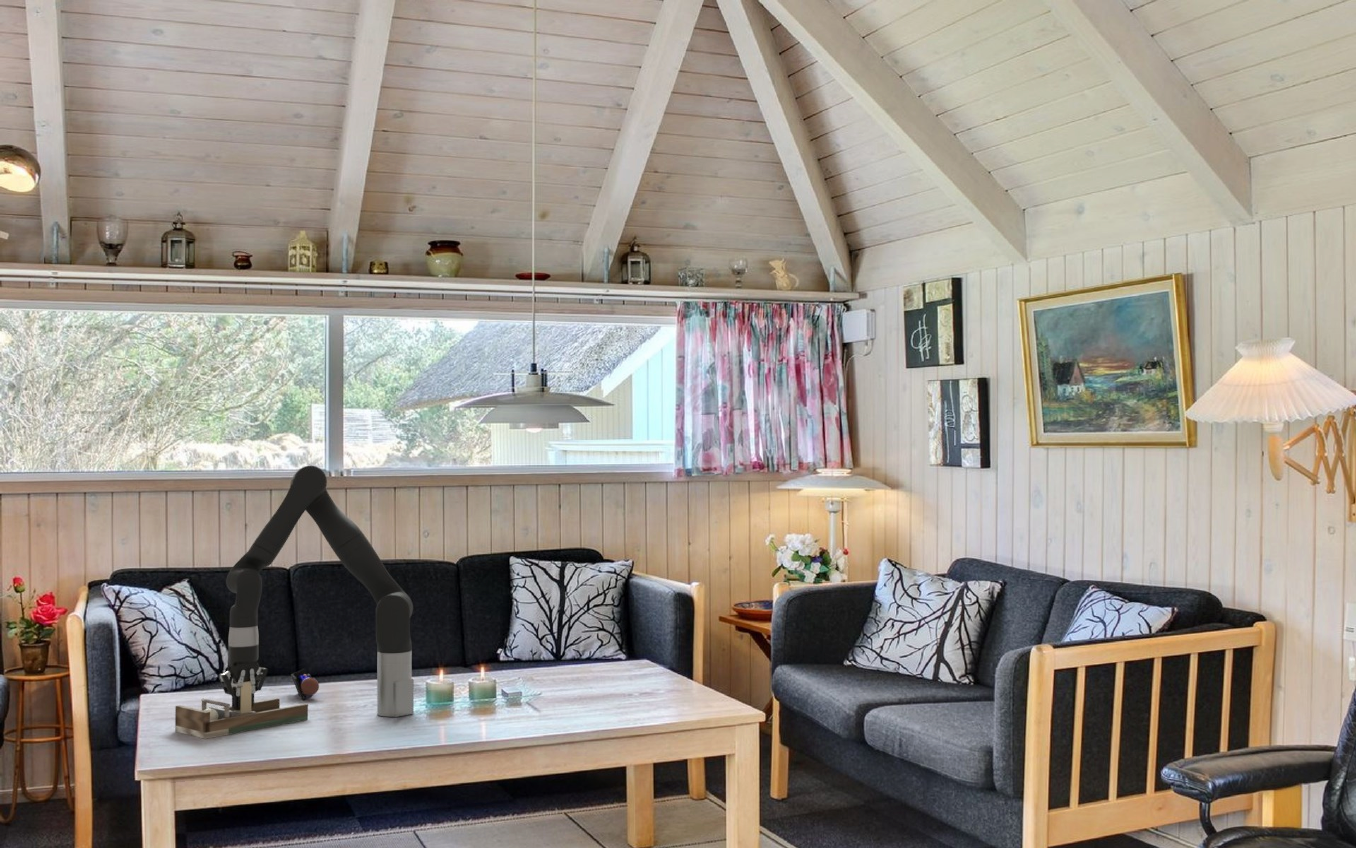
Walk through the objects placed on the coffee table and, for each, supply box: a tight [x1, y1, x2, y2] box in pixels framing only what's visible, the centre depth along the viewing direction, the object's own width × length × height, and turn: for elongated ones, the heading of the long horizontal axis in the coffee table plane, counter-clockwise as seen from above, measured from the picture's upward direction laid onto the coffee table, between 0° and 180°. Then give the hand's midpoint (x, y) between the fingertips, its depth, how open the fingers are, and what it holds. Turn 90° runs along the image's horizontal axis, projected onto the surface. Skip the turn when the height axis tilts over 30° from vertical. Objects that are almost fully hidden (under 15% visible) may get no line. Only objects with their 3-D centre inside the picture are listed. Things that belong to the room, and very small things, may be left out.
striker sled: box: [208, 681, 256, 719], centre depth 326 cm, size 11×9×10 cm
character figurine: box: [290, 668, 320, 701], centre depth 367 cm, size 8×7×15 cm
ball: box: [204, 707, 218, 721], centre depth 320 cm, size 4×4×4 cm
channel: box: [174, 697, 309, 740], centre depth 327 cm, size 14×30×8 cm, turn 141°
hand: (243, 708), depth 327 cm, fingers closed on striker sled, 3 cm apart
